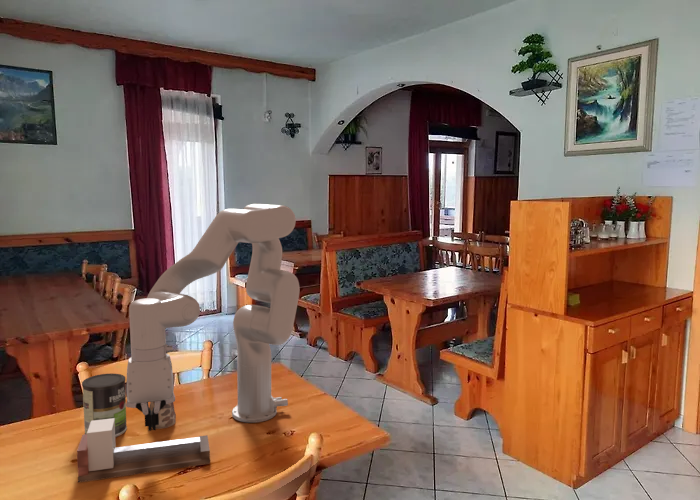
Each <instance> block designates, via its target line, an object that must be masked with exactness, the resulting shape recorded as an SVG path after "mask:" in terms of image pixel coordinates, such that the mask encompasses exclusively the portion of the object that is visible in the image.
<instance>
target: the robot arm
mask: <svg viewBox="0 0 700 500" xmlns="http://www.w3.org/2000/svg"><path fill="white" fill-rule="evenodd" d="M296 221H297V218H296V215H295V213H294V211H293V209H291V208H289V207H288V206H286V205H283V204H267V203H252V204H247V205H246V206H244V207H243V208H242V209H240V208H226V209H222V210H221V211H219V212H218V213H217V214H216V216H215V217H214V218H213V219H212V222H211V223H210V224H209V225H208V227H207V229H206V230H205V232H203V235H202V236H201V238H200V239H199V241H198V242H197V243H196V245H195V247H194V248H193V249H192V250H191V252H189V253H187V254H186V255H185V256H184V257H182V258H180V259H179V260H178V261H176V262H175V263H173V264H172V265H171V266H170V267H168V268H167V269H166V270H165V271H164V272H162V274H161V275H160V276H159V278H158V279H157V281H156V282H155V283H154V285H153V286H152V288H151V289H150V291H149V293H148V294H147V297H146V298H145V297H144V298H139V299H135V300H134V301H132V302H131V303H130V304H129V307H128V308H129V309H128V314H129V315H128V316H129V333H130V335H129V336H130V337H129V338H130V353H131V355H130V357H129V358H128V361H127V368H126V408H131V409H137V410H138V411H139V412H141V413H142V415H144V427H147V430H148V432H150V431H156V429H157V428H156V425H159V414H158V413H159V411H160V410H161V409H162V408H163V407H164V406H165V405H166V404H169V403H172V402H173V403H174V402H176V395H175V393H174V388H175V386H174V385H175V384H174V382H175V381H174V374H173V373H174V372H173V364H172V360H171V356H170V354H169V353H170V352H174V351H173V345H168V344H167V339H166V338H167V337H166V329H170V328H171V329H172V328H182V327H187V326H189V325H192V324H193V323H195V321H197V319H198V318H199V316H200V313H201V306H200V304H199V302H198V300H197V299H196V298H194V297H192V296H190V295H188V294H185V293H184V294H183V293H182V292H183V290H185V289H186V288H187V286H189V285H190V284H192V283H194V282H196V281H197V280H200V279H203V278H205V277H209V276H211V275H214V274H216V273H219V272H220V271H221V270H223V268H224V266H225V264H226V263H227V261H228V260H229V258H230V256H231V255H232V253H233V252H234V250H235V249H236V247H237V246H238V244H239V243H246V244H247V243H248V244H251V246H252V254H251V259H250V264H249V270H248V274H247V279H246V284H245V285H246V286H245V291H246V294H247V296H248V297H250V298H251V299H252V300H255V301H259V302H263V303H267V304H268V303H269V304H270V306H269V307H267V306H262V305H257V304H246V305H244V306H242V307H240V308H239V309H237V311H236V312H235V313H234V317H233V321H232V325H233V326H232V328H233V332H234V336H235V343H236V354H237V355H236V356H237V357H236V360H237V361H236V362H237V363H236V366H237V369H236V371H237V373H236V374H237V376H236V378H237V379H236V381H237V404H236V406H235V407H233V408H232V411H231V417H232V418H234V419H235V420H236V421H238V422H243V423H248V424H249V423H251V424H252V423H261V422H262V423H263V422H265V421H269V420H270V419H273V418H274V417H275V416H276V415H277V413H278V411H277V409H278V408H277V407H286V406H288V405H289V404H288V403H289V401H288V398H283V399H282V396H277V397H274V396H273V395H272V351H271V346H270V345H272V346H281V345H284V344H285V343H286V342H287V341H288V340H289V339H290V337H291V335H292V332H293V328H294V324H295V319H296V314H297V308H298V304H299V303H298V302H299V299H300V298H299V297H300V292H301V291H300V282H299V279H298V277H297V275H295V274H294V273H293V272H291V271H289V270H282V269H281V267H282V260H283V246H282V243H281V241H280V239H282V238H285V237H287V236H289V235H290V234H291V233H292V232H293V231H294V228H295V227H296ZM153 401H155V405H154V407H153V410H152V412H151V410H150V408H149V407H150V404H149V403H150V402H153Z"/></svg>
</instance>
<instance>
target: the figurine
mask: <svg viewBox="0 0 700 500" xmlns="http://www.w3.org/2000/svg"><path fill="white" fill-rule="evenodd" d="M154 405H155V401H153V402H149V408H150V410H151V412H152V410H153V407H154ZM158 414H159V425H156V429H160V430H161V429H167V428H170V427H172V426H174V425H175V424H176V421H177V420H176V419H177V417H176V416H177V415H176V410H175V405H174V402H172V403H169V404H166V405H165V406H164V407H163V408H162V409H161V410H160V411H159V413H158Z"/></svg>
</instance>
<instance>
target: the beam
mask: <svg viewBox="0 0 700 500" xmlns="http://www.w3.org/2000/svg"><path fill="white" fill-rule="evenodd" d="M199 453H200V437H199V436H196V437H188V438H181V439H180V438H179V439H172V440H171V439H170V440H164V441H155V442H150V443H149V442H148V443H147V442H146V443H142V444H141V443H140V444H134V445H133V444H132V445H125V446H118V447H116V448H114V452H113V455H114V465H118V464H125V463H133V462H140V461H147V460H155V459H162V458H169V457H177V456H184V455H191V454H199Z"/></svg>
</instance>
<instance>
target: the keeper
mask: <svg viewBox="0 0 700 500" xmlns="http://www.w3.org/2000/svg"><path fill="white" fill-rule="evenodd" d="M87 446H88V467H89V471H95V470H103V469H110V468H113V467H114V455H113V452H114V448H116V446H117V444H116V437H115V418H111V419H102V420H93V421H91V423H90V426H89V428H88V431H87Z"/></svg>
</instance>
